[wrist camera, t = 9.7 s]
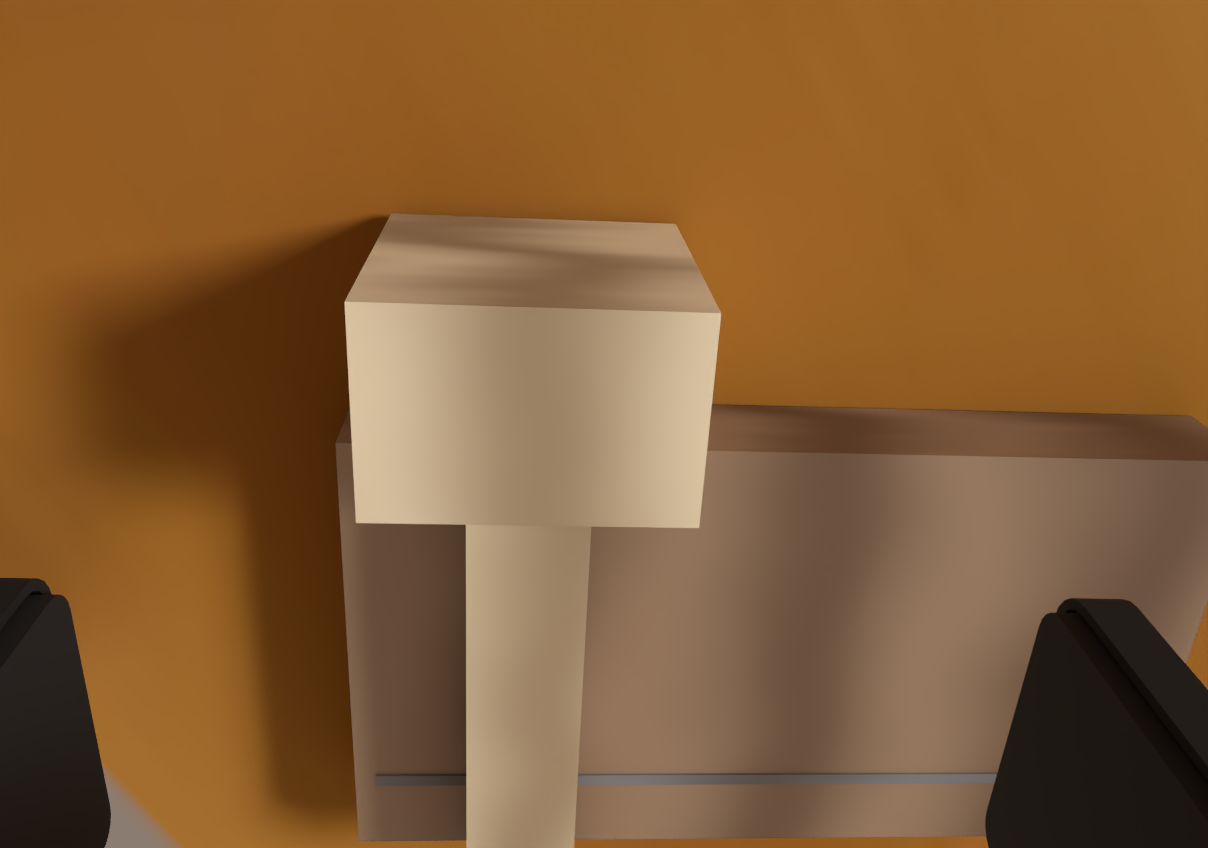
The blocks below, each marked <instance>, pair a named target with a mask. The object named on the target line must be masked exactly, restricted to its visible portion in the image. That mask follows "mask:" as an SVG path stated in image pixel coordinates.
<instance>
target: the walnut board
mask: <svg viewBox="0 0 1208 848" xmlns="http://www.w3.org/2000/svg"><path fill="white" fill-rule="evenodd" d="M335 447H336V464H337V481H338V498H339V515H340V532H341V549H342V566H343V583H344V600H345V617H346V634H347V651H348V668H349V685H350V702H351V719H352V736H353V753H354V770H355V787H356V804H357V821H358V838H359V841H441V840H467V831H466V525H453V524H385V523H356V515H355V496H354V477H353V457H352V438H351V419H350V407H349V410H348V412H347V415H346V417H345V420H344V422H343V425H342V427H341V430H340V432H339V435H338V438H337V440H336V443H335ZM1070 598H1091V599H1124V600H1128V601H1131V602H1132V603H1133V604H1134V605H1135V606H1137V607H1138V608H1139V610H1140V611H1141V612H1142V613H1143V614H1144V615H1145V617H1146V618H1147V619H1148V620H1149V621H1150V623H1151V624H1152V625H1153V626H1154V627H1155V628H1156V630H1157V631H1158V632H1159V633H1160V634H1161V636H1162V637H1163V638H1164V639H1165V640H1166V641H1167V643H1168V644H1169V645H1170V646H1171V647H1172V648H1173V650H1174V651H1175V652H1176V653H1177V654H1178V656H1179V657H1180V658H1181V659H1182V660H1183V661H1184V663H1185V664H1186V662H1187V659H1188V656H1189V654H1190V651H1191V648H1192V645H1193V642H1194V639H1195V636H1196V633H1197V630H1198V627H1199V624H1200V621H1201V619H1202V616H1203V613H1204V610H1205V607H1206V604H1207V601H1208V428H1207V427H1206V426H1204V425H1203V424H1201V423H1200V422H1199V421H1197V420H1196V419H1194V418H1193V417H1192V416H1170V415H1128V414H1087V413H1045V412H1004V411H962V410H921V409H879V408H838V407H796V406H755V405H713V404H712V407H711V417H710V427H709V437H708V446H707V456H706V466H705V475H704V485H703V495H702V505H701V514H700V524H699V528H654V527H591V542H590V561H589V579H588V598H587V616H586V635H585V653H584V672H583V690H582V708H581V727H580V745H579V764H578V782H577V801H576V819H575V837H574V839H690V838H814V837H938V836H986V829H985V817H986V812H987V808H988V804H989V801H990V797H991V794H992V790H993V787H994V783H995V779H996V776H997V772H998V769H999V765H1000V762H1001V758H1002V755H1003V751H1004V748H1005V744H1006V741H1007V737H1008V734H1009V730H1010V727H1011V723H1012V720H1013V716H1014V713H1015V709H1016V706H1017V702H1018V699H1019V695H1020V692H1021V688H1022V684H1023V681H1024V677H1025V674H1026V670H1027V667H1028V663H1029V660H1030V656H1031V653H1032V649H1033V646H1034V642H1035V639H1036V635H1037V632H1038V628H1039V625H1040V623H1041V620H1042V618H1043V617H1044V616H1045V615H1046V614H1048V613H1056V612H1057V609H1058V607H1059V606H1060V605H1061V603H1062V602H1063V601H1064V600H1067V599H1070Z"/></svg>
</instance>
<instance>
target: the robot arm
mask: <svg viewBox="0 0 1208 848" xmlns="http://www.w3.org/2000/svg"><path fill="white" fill-rule="evenodd" d="M110 818H111V812H110V804H109V798H108V794H107V789H106V784H105V779H104V774H103V769H102V764H101V759H100V754H99V749H98V744H97V739H96V734H95V729H94V724H93V719H92V714H91V709H90V704H89V699H88V694H87V689H86V684H85V679H84V674H83V669H82V665H81V660H80V655H79V650H78V645H77V640H76V635H75V630H74V625H73V620H72V615H71V610H70V607H69V603H68V601H67V600H66V598H65V597H64V596H62V595H51V591H50V588H49V587H48V586H47V584H46V583H45V581H42V580H40V579H28V578H0V848H104V847H105V845H106V842H107V838H108V834H109V829H110ZM985 829H986V838H987V842H988V846H989V848H1208V690H1207V689H1206V687H1205V686H1204V685H1203V684H1202V683H1201V681H1200V680H1199V679H1198V678H1197V677H1196V676H1195V674H1194V673H1193V672H1192V671H1191V670H1190V669H1189V667H1188V666H1187V665H1186V664H1185V663H1184V661H1183V660H1182V659H1181V658H1180V657H1179V656H1178V654H1177V653H1176V652H1175V651H1174V650H1173V648H1172V647H1171V646H1170V645H1169V644H1168V643H1167V641H1166V640H1165V639H1164V638H1163V637H1162V636H1161V634H1160V633H1159V632H1158V631H1157V630H1156V628H1155V627H1154V626H1153V625H1152V624H1151V623H1150V621H1149V620H1148V619H1147V618H1146V617H1145V615H1144V614H1143V613H1142V612H1141V611H1140V610H1139V608H1138V607H1137V606H1135V605H1134V604H1133V603H1132V602H1131V601H1128V600H1124V599H1091V598H1070V599H1067V600H1064V601H1063V602H1062V603H1061V605H1060V606H1059V607H1058V609H1057V612H1056V613H1048V614H1046V615H1045V616H1044V617H1043V618H1042V620H1041V623H1040V625H1039V628H1038V632H1037V635H1036V639H1035V642H1034V646H1033V649H1032V653H1031V656H1030V660H1029V663H1028V667H1027V670H1026V674H1025V677H1024V681H1023V684H1022V688H1021V692H1020V695H1019V699H1018V702H1017V706H1016V709H1015V713H1014V716H1013V720H1012V723H1011V727H1010V730H1009V734H1008V737H1007V741H1006V744H1005V748H1004V751H1003V755H1002V758H1001V762H1000V765H999V769H998V772H997V776H996V779H995V783H994V787H993V790H992V794H991V797H990V801H989V804H988V808H987V812H986V817H985Z"/></svg>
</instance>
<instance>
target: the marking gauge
mask: <svg viewBox="0 0 1208 848" xmlns="http://www.w3.org/2000/svg"><path fill="white" fill-rule="evenodd" d="M720 320H721V312H720V310H719V308H718V306H717V304H716V302H715V300H714V298H713V296H712V294H711V292H710V290H709V288H708V286H707V284H706V283H705V281H704V279H703V277H702V275H701V273H700V271H699V269H698V267H697V265H696V263H695V261H694V259H693V257H692V255H691V253H690V251H689V249H688V247H687V245H686V243H685V241H684V239H683V237H682V235H681V233H680V232H679V230H678V228H677V226H676V224H663V223H636V222H609V221H582V220H556V219H529V218H502V217H475V216H449V215H422V214H395V213H391V215H390V217H389V219H388V221H387V223H386V224H385V226H384V228H383V230H382V232H381V234H380V236H379V238H378V239H377V241H376V243H375V245H374V247H373V249H372V251H371V253H370V255H369V256H368V258H367V260H366V262H365V264H364V266H363V268H362V270H361V271H360V273H359V275H358V277H357V279H356V281H355V283H354V285H353V287H352V288H351V290H350V292H349V294H348V296H347V298H346V300H345V322H346V341H347V360H348V380H349V399H350V419H351V438H352V457H353V477H354V496H355V515H356V523H385V524H453V525H466V831H467V848H574V837H575V819H576V801H577V782H578V764H579V745H580V727H581V708H582V690H583V672H584V653H585V635H586V616H587V598H588V579H589V561H590V542H591V527H654V528H699V524H700V514H701V505H702V495H703V485H704V475H705V466H706V456H707V446H708V437H709V427H710V417H711V407H712V398H713V388H714V378H715V368H716V359H717V349H718V339H719V330H720Z"/></svg>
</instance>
